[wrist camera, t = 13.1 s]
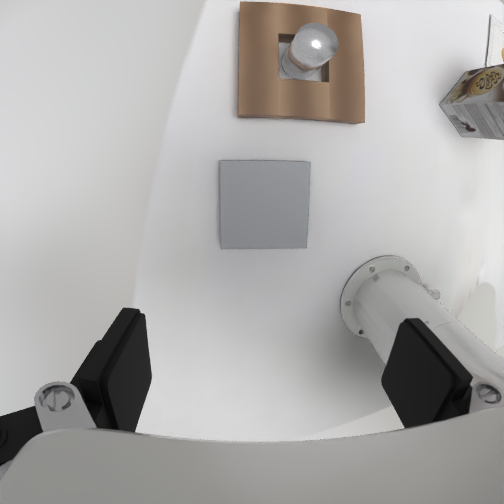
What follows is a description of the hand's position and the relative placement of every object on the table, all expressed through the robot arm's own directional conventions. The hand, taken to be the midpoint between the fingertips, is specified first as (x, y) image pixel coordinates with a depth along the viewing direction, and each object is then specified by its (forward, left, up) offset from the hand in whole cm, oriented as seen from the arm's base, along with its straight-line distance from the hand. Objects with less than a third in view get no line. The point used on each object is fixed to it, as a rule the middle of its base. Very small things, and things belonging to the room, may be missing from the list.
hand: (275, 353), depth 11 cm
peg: (-6, -18, -28) cm, 34 cm away
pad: (-2, -1, -28) cm, 28 cm away
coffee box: (-31, -17, -28) cm, 45 cm away
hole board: (-6, -18, -28) cm, 34 cm away
